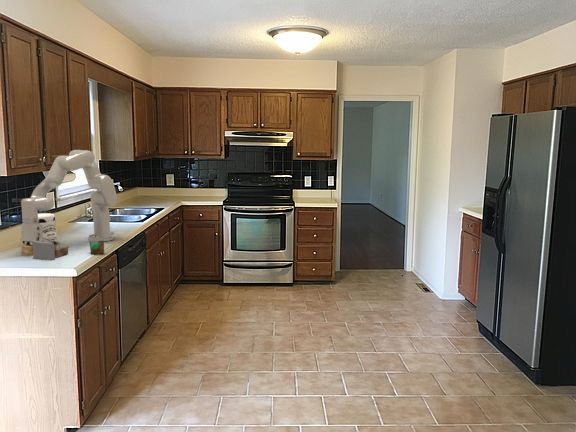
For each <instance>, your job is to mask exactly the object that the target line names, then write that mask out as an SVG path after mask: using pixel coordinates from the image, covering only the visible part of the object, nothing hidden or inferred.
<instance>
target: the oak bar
mask: <svg viewBox="0 0 576 432" xmlns="http://www.w3.org/2000/svg"><path fill="white" fill-rule="evenodd" d="M21 256H22V257H32V256H33V244H31V245H27V246H24V245H23V246H21Z"/></svg>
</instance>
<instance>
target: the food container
mask: <svg viewBox="0 0 576 432" xmlns="http://www.w3.org/2000/svg"><path fill="white" fill-rule="evenodd" d="M87 240H88V241H89V248H90V249H89V250H90V254H91V255H94V256H95V255H97V256H98V255H99V256H101V255H104V254H105V241H104V237H100V236H96V234H94V233H92V234H89V235H88V238H87Z"/></svg>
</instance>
